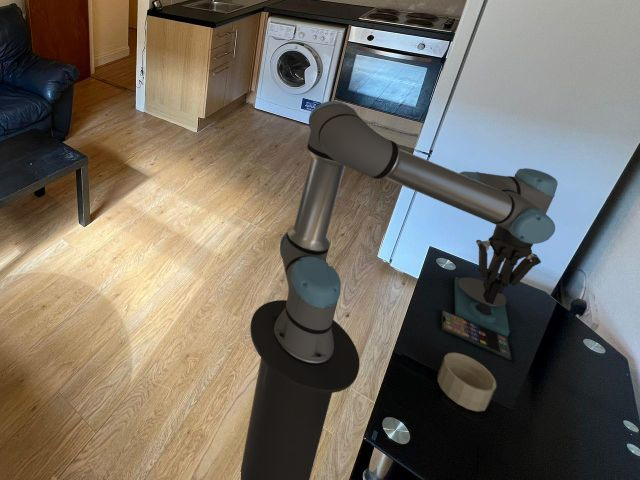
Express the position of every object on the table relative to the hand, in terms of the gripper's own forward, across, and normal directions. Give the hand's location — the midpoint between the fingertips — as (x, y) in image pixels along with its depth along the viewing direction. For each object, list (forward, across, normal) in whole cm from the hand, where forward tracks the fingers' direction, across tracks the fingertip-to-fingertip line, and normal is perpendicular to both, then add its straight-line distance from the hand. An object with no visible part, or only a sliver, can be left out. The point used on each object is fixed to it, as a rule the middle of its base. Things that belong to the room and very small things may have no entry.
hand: (487, 299), depth 111 cm
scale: (+13, +5, +15) cm, 20 cm away
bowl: (+13, -7, -22) cm, 27 cm away
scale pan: (+10, +5, +18) cm, 21 cm away
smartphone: (+14, 0, +1) cm, 14 cm away
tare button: (+10, +4, +9) cm, 14 cm away
